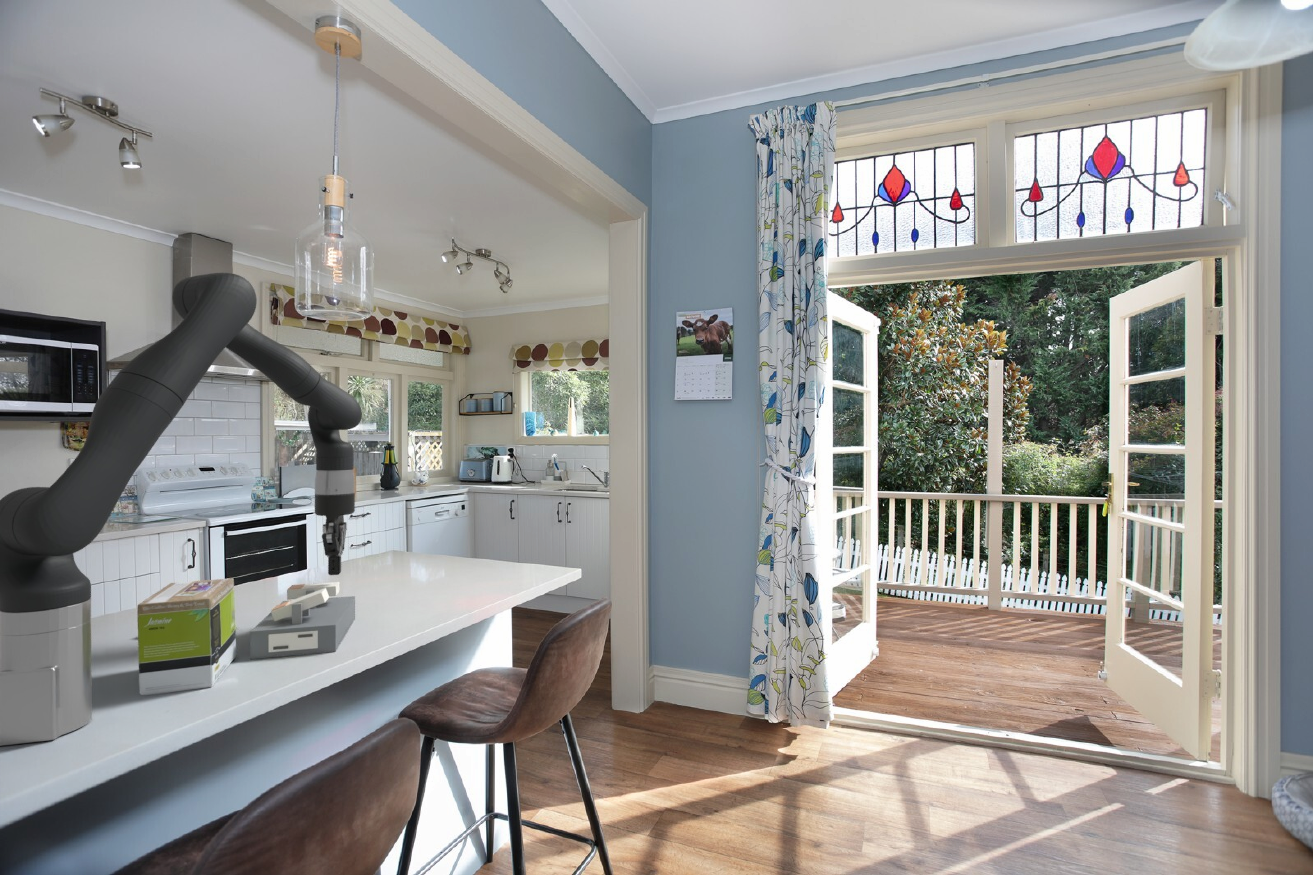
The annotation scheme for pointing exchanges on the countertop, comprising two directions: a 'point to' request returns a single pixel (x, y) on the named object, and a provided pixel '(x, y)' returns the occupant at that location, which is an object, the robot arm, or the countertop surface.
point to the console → (304, 629)
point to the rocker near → (307, 602)
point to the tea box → (186, 636)
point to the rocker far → (300, 590)
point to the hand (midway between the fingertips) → (334, 574)
